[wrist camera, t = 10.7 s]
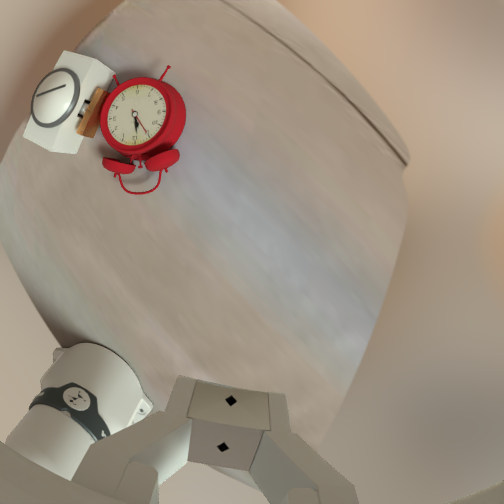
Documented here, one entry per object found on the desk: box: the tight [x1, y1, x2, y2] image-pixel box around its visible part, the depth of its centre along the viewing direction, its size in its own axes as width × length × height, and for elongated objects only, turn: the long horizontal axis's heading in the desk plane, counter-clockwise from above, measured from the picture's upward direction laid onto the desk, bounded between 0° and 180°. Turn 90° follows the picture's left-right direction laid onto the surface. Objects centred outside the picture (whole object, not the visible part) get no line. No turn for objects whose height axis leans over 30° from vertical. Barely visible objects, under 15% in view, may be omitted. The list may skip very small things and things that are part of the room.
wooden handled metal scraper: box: [76, 88, 110, 138], centre depth 30 cm, size 6×6×3 cm
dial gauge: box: [23, 50, 116, 154], centre depth 29 cm, size 12×8×7 cm, turn 152°
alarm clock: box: [100, 65, 186, 195], centre depth 31 cm, size 10×6×15 cm
